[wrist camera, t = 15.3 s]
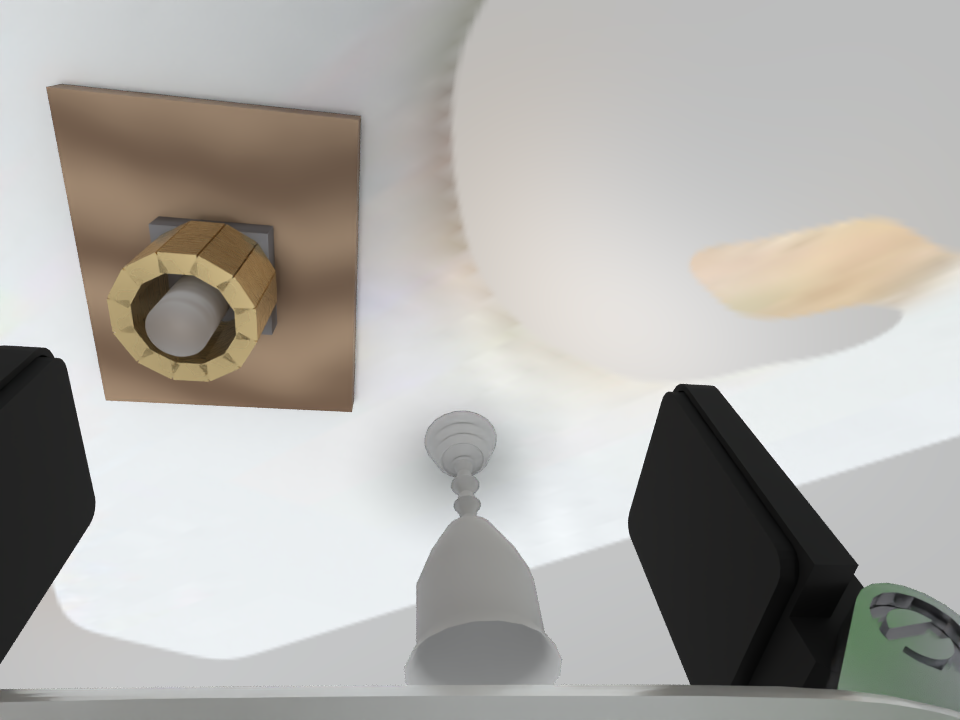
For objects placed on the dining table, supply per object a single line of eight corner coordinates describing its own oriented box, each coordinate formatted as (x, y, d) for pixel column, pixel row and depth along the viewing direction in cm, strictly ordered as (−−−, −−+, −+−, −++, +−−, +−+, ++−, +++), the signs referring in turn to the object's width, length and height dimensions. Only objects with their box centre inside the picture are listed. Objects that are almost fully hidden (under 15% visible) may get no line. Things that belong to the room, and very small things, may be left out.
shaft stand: (61, 84, 32) (-54, 106, 24) (360, 116, 34) (343, 146, 26) (115, 387, 41) (43, 477, 33) (353, 399, 43) (339, 487, 35)
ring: (140, 216, 33) (97, 247, 28) (274, 227, 34) (253, 259, 29) (156, 332, 36) (120, 377, 32) (278, 340, 37) (259, 384, 32)
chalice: (402, 474, 46) (395, 713, 30) (415, 394, 43) (414, 615, 27) (501, 483, 47) (543, 719, 31) (521, 406, 44) (578, 624, 28)
